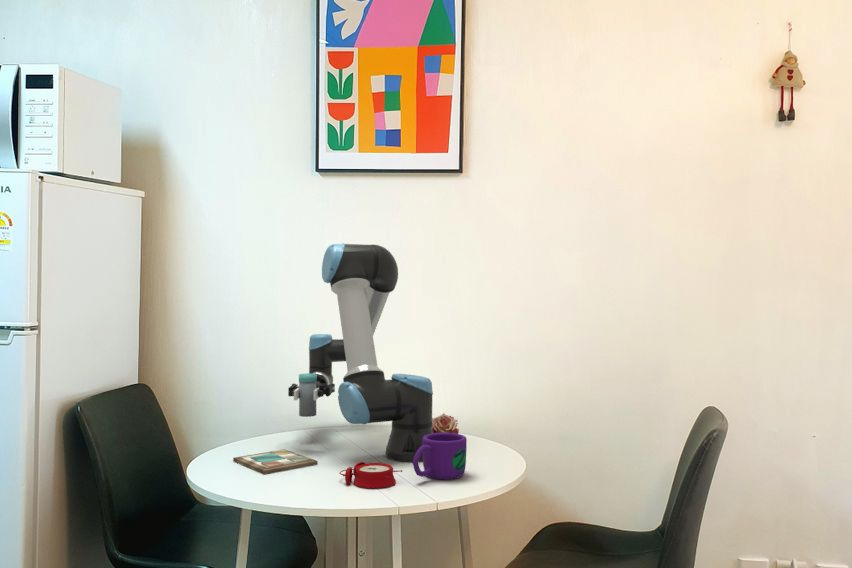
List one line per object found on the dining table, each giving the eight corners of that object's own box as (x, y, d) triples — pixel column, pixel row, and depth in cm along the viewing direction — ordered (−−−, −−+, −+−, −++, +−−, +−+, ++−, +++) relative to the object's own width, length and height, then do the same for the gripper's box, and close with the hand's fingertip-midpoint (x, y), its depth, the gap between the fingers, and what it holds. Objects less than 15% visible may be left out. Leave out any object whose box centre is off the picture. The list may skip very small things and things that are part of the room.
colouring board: (317, 464, 193) (317, 459, 193) (264, 474, 182) (264, 469, 182) (284, 452, 206) (284, 447, 206) (233, 461, 196) (233, 456, 196)
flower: (423, 432, 226) (425, 415, 222) (448, 424, 230) (451, 407, 226) (437, 454, 220) (440, 437, 215) (463, 446, 224) (466, 428, 219)
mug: (442, 467, 190) (442, 430, 190) (475, 475, 182) (475, 436, 182) (397, 480, 177) (397, 440, 177) (431, 489, 169) (431, 447, 169)
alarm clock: (388, 477, 167) (334, 456, 173) (383, 502, 168) (329, 481, 174) (406, 466, 177) (355, 448, 183) (401, 490, 178) (350, 471, 183)
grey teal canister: (320, 415, 208) (320, 374, 208) (304, 417, 204) (304, 375, 204) (310, 413, 212) (310, 373, 212) (295, 415, 208) (295, 374, 208)
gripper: (344, 396, 226) (336, 408, 203) (288, 396, 226) (273, 408, 203) (344, 373, 226) (336, 382, 203) (288, 373, 226) (273, 382, 203)
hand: (304, 395), depth 203 cm, fingers closed on grey teal canister, 5 cm apart
